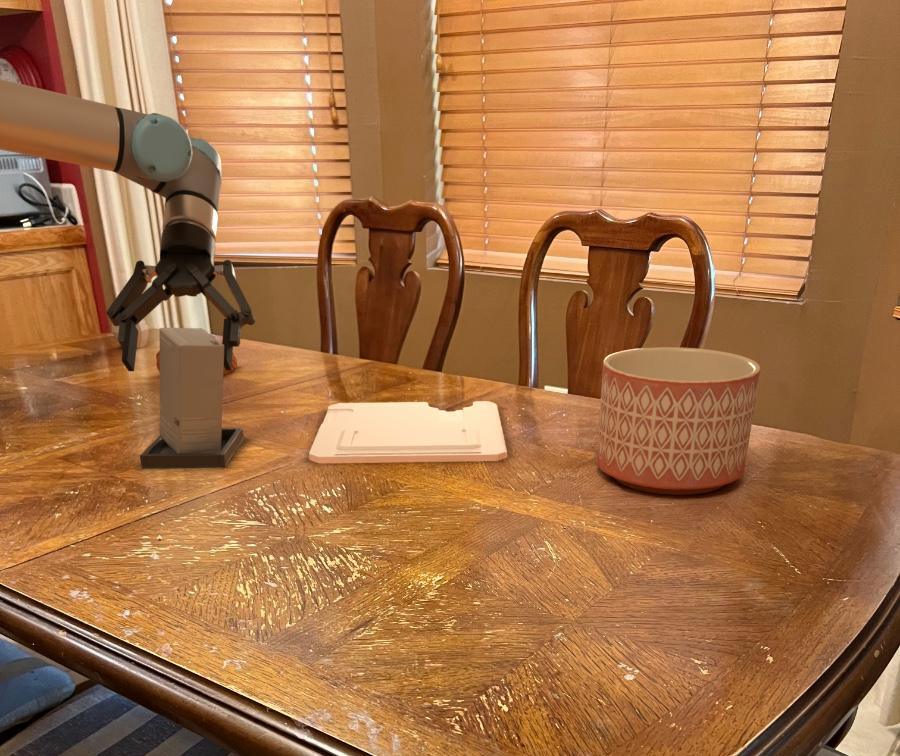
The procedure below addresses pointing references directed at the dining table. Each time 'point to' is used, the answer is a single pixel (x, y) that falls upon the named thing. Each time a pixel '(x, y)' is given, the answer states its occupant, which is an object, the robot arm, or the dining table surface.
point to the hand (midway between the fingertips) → (176, 365)
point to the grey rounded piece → (142, 333)
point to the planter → (676, 418)
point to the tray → (408, 433)
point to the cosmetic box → (191, 390)
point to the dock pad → (166, 457)
